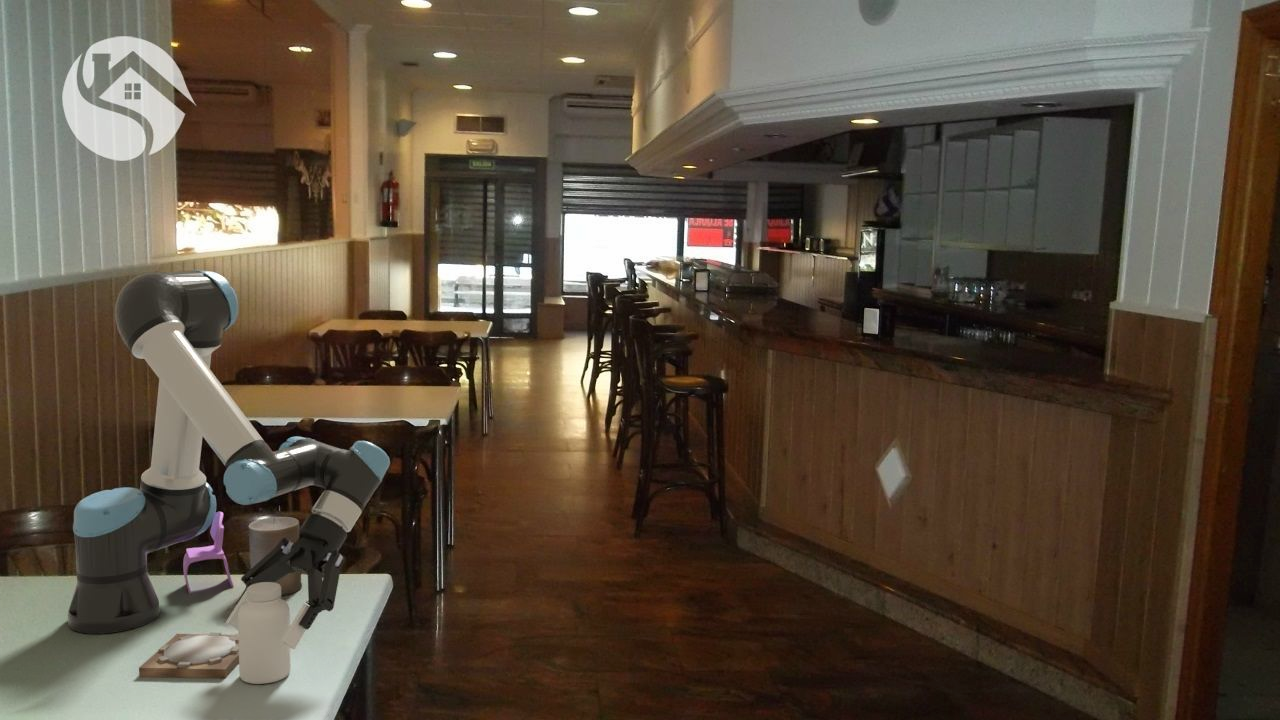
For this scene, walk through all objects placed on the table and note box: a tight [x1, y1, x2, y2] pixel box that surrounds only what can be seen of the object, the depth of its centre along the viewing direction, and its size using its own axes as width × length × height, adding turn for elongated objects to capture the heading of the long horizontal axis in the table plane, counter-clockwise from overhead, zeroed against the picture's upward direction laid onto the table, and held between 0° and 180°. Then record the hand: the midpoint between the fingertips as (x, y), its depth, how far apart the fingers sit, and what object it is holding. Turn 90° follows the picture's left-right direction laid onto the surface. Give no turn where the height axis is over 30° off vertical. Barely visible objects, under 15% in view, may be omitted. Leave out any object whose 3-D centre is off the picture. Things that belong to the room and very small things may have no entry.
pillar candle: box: [248, 516, 303, 597], centre depth 209 cm, size 10×10×15 cm
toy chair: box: [182, 511, 234, 595], centre depth 210 cm, size 8×9×15 cm
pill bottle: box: [237, 582, 292, 685], centre depth 170 cm, size 8×8×15 cm
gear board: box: [138, 632, 239, 679], centre depth 177 cm, size 14×14×2 cm
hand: (259, 635), depth 169 cm, fingers open, 13 cm apart
